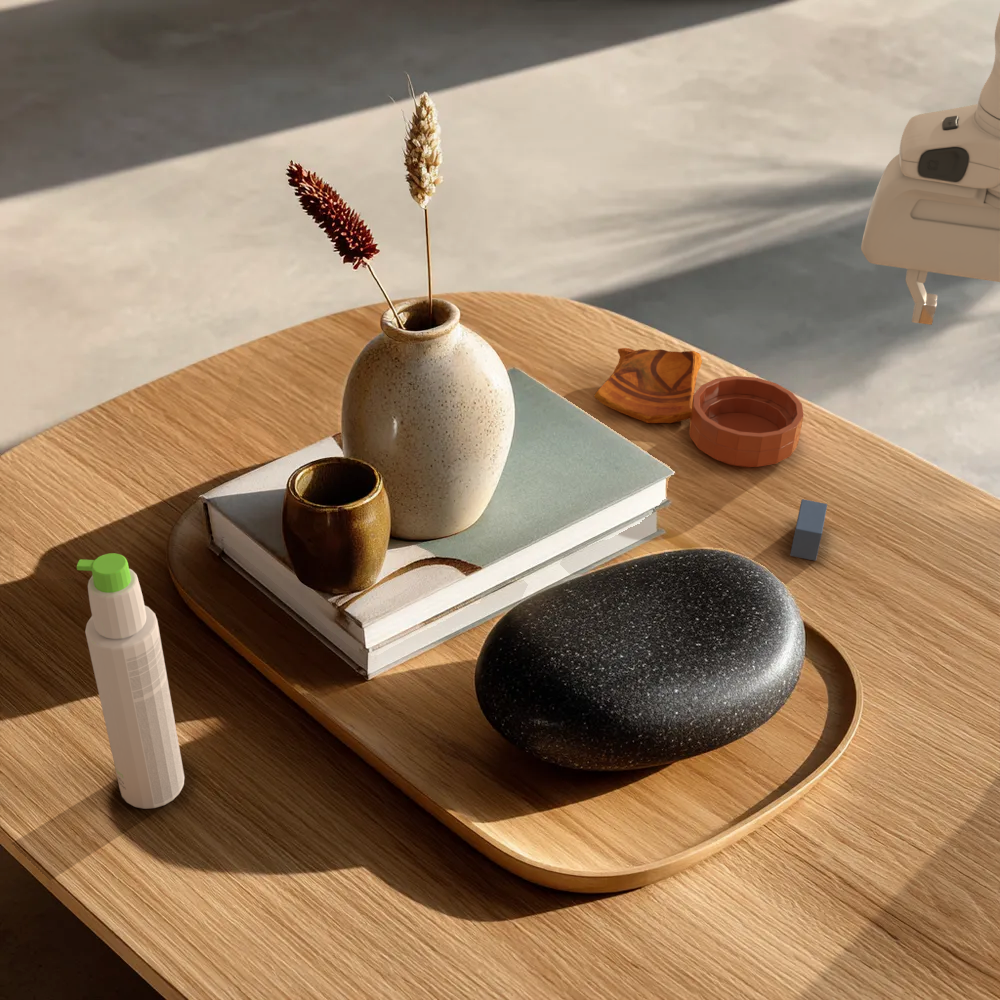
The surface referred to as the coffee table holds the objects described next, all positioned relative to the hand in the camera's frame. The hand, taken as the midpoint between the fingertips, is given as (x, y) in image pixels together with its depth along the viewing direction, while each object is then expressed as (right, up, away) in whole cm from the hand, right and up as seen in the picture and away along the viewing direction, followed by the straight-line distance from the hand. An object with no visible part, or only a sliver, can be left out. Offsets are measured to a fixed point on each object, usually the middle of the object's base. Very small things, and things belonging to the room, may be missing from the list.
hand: (988, 330), depth 98 cm
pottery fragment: (-21, -2, +35) cm, 41 cm away
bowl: (-13, -7, +30) cm, 33 cm away
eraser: (-9, -16, +18) cm, 26 cm away
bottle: (-60, -32, -5) cm, 68 cm away
